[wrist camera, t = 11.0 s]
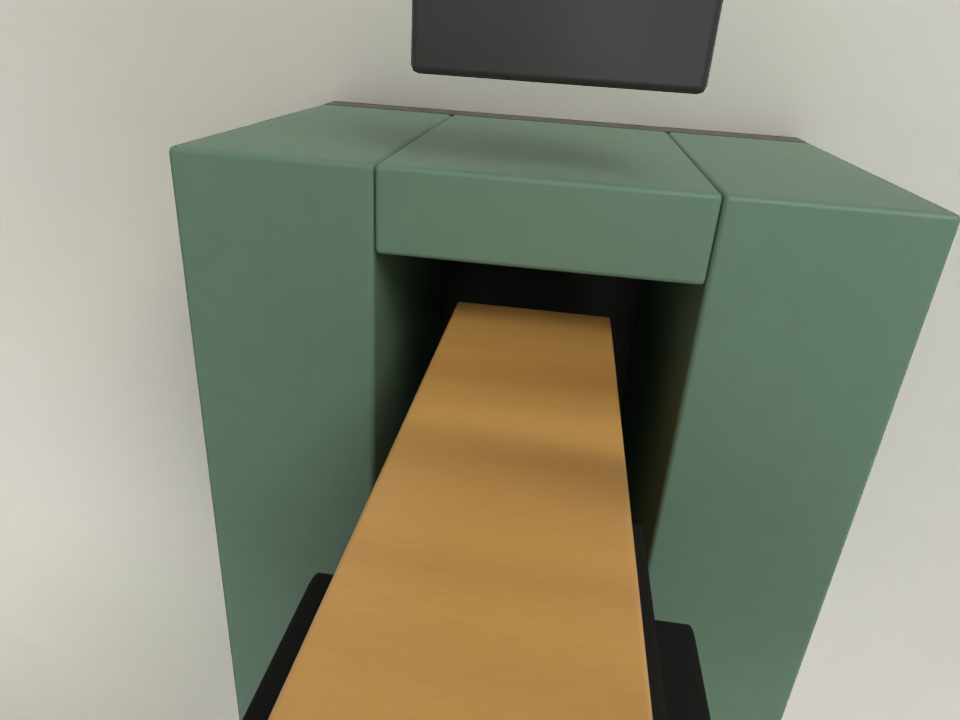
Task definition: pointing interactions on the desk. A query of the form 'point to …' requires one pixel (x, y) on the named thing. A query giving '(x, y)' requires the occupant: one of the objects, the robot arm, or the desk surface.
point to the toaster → (559, 288)
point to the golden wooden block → (490, 543)
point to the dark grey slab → (569, 41)
